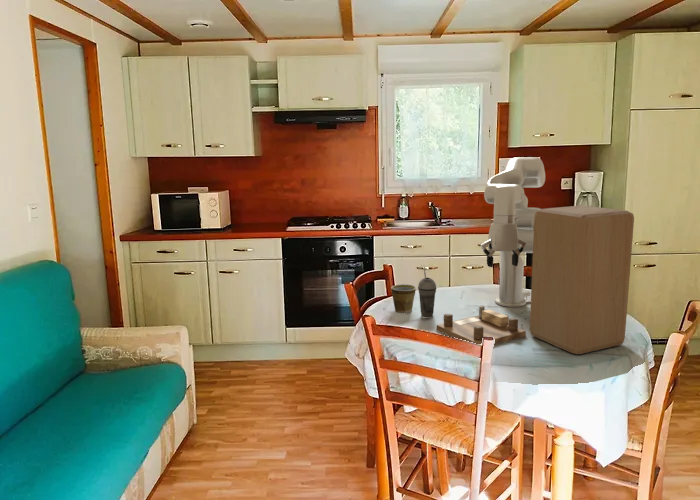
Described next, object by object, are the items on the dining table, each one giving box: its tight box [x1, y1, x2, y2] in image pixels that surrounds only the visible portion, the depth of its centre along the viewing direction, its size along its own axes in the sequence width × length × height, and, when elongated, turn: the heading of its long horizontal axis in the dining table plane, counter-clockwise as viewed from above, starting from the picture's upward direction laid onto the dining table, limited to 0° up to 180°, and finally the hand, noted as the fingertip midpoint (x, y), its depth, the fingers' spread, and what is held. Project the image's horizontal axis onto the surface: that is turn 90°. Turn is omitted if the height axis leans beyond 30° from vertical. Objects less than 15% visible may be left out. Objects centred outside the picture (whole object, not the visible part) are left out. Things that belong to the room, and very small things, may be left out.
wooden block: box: [529, 204, 635, 355], centre depth 181 cm, size 22×22×45 cm
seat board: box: [435, 305, 527, 345], centre depth 194 cm, size 22×22×6 cm
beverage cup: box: [417, 266, 438, 319], centre depth 213 cm, size 7×7×20 cm
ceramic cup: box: [390, 284, 417, 314], centre depth 223 cm, size 13×10×10 cm
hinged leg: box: [482, 308, 510, 327], centre depth 199 cm, size 10×3×3 cm, turn 29°
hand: (502, 266), depth 200 cm, fingers open, 9 cm apart
